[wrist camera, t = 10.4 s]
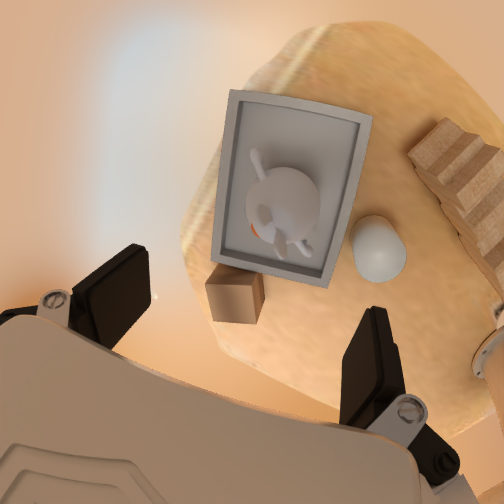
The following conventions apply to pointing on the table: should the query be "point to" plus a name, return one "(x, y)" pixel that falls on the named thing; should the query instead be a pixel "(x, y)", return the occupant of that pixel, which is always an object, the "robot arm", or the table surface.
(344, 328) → the table surface
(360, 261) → the pale grey egg shape
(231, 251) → the tray
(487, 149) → the stepped wooden block
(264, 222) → the toy figure
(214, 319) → the walnut cube
